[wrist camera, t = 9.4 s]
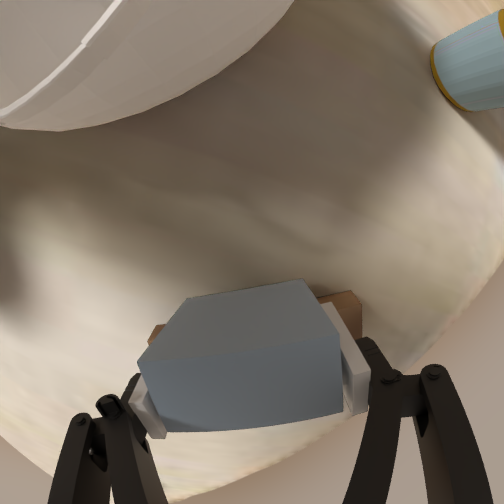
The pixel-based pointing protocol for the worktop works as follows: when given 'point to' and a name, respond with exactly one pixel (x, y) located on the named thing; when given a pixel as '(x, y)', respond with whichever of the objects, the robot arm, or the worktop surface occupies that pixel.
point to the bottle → (472, 64)
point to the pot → (116, 55)
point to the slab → (245, 361)
